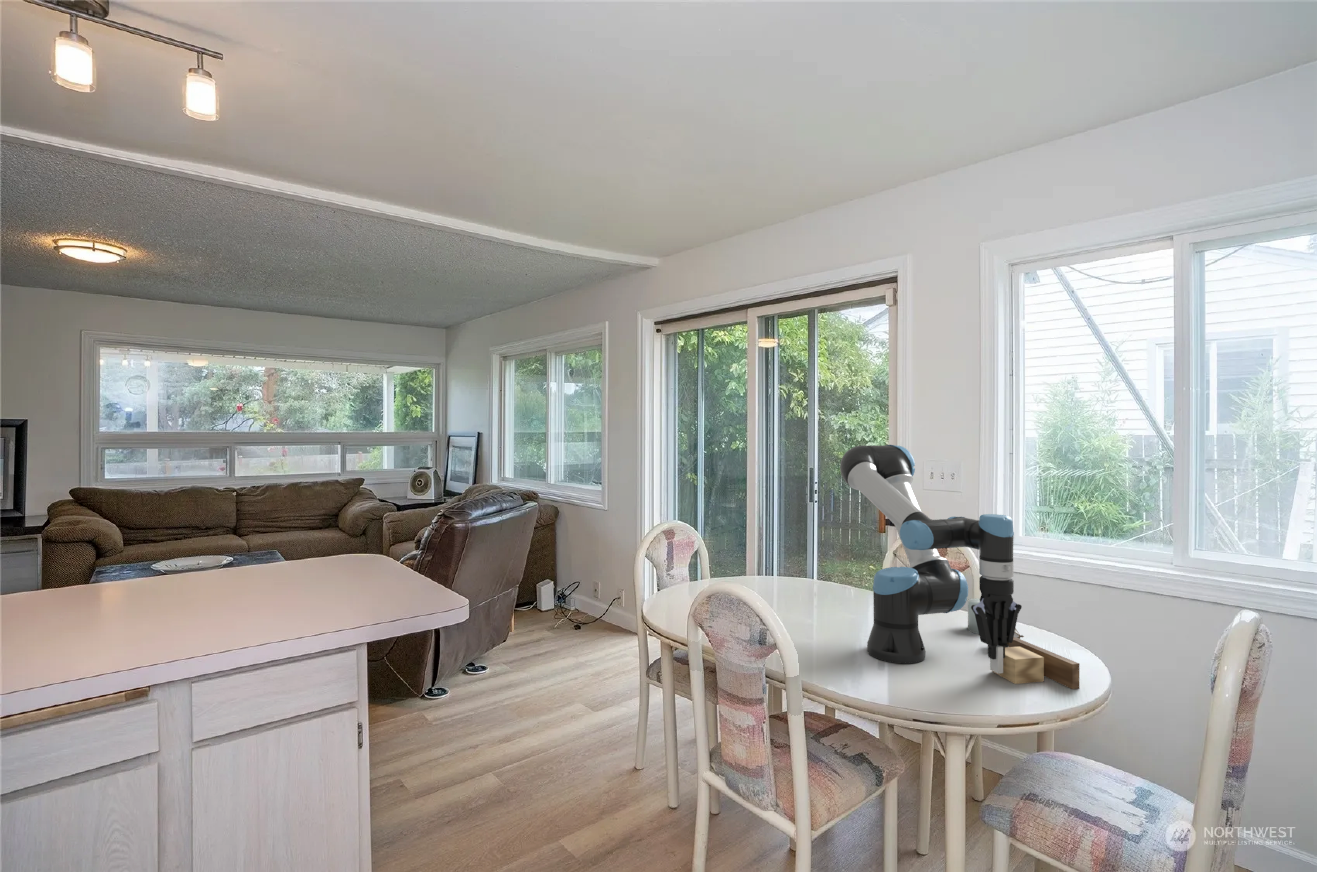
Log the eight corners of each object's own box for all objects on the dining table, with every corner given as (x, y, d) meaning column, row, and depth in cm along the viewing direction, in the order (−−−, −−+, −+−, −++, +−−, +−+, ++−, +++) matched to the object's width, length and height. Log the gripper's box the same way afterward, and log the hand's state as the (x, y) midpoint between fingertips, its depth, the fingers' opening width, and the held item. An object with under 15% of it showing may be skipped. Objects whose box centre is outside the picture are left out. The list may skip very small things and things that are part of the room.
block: (1015, 683, 154) (1015, 659, 154) (992, 671, 162) (992, 648, 162) (1043, 681, 156) (1043, 657, 156) (1019, 669, 164) (1019, 646, 163)
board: (1072, 689, 151) (1072, 664, 151) (1008, 659, 170) (1008, 637, 170) (1079, 688, 151) (1079, 663, 151) (1015, 659, 171) (1014, 637, 171)
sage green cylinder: (980, 635, 191) (980, 606, 190) (962, 627, 198) (962, 599, 198) (1002, 633, 192) (1002, 604, 192) (983, 626, 200) (983, 597, 200)
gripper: (984, 581, 153) (984, 679, 153) (1030, 578, 155) (1030, 674, 155) (963, 575, 160) (963, 668, 160) (1007, 572, 163) (1007, 664, 163)
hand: (996, 671), depth 158 cm, fingers closed
